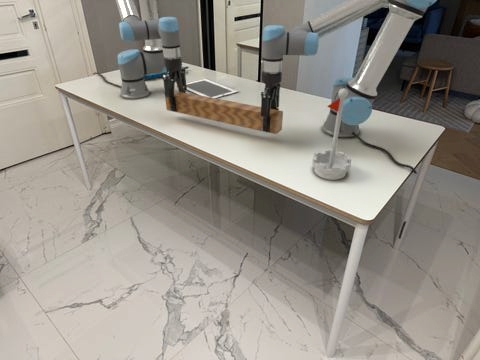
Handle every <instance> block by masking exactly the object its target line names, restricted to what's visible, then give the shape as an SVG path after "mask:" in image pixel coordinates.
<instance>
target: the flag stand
mask: <svg viewBox="0 0 480 360" xmlns="http://www.w3.org/2000/svg"><path fill="white" fill-rule="evenodd" d="M338 95H339V97H340V98H339V99H338V100H336V101H335V102H333V103H332V104H331V103H330V104H328V105H326V107H327V108H329V109H330V108H331V109H333V110H336V111H338V112H337V118H336V124H335V130H334V136H332V143H331V148H330V149H329V148H328V149H324V152H321V151H320V150H317V151H315V152H314V154H313V155H314V156H312V166H313V168H314V169H313V170H314V173H315V174H316V175H317V176H318V177H320V178H322V179H325V180H330V181H333V180H340V179H343V178H345V176H346V173H347V172H348V171H350V169H351V166H352V158H351V157H350V156H346V153H345V152H343V151H339V150H338V151H337V145H338V138H339V137H338V134H339V128H340V123H341V117H342V111H343V105H344V99H345V97H346V96H347V95H348V91H347V90H346V89H344V88H342V89H340V90H339V92H338ZM336 151H337V152H336Z"/></svg>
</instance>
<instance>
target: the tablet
mask: <svg viewBox="0 0 480 360" xmlns="http://www.w3.org/2000/svg"><path fill="white" fill-rule="evenodd" d="M186 85H187V90H186V91H188V92H189V93H190V92H191V93H192V94H195V95H201V96H206V97H211V98H216V99H220V98H223V97H226V96H229V95H233V94H237V93H239V91H238V90H236V89H233V88H230V87H228V86H226V85H223V84H220V83H217V82H215V81H213V80H209V79H207V78H202V79H199V80H195V81H191V82H186Z"/></svg>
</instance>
